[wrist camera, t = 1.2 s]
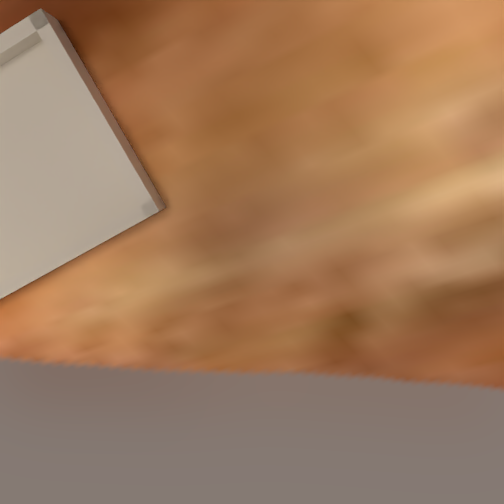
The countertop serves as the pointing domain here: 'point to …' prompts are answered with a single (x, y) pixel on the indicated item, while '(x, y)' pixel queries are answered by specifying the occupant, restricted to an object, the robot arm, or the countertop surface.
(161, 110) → the countertop surface
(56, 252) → the tray
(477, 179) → the countertop surface
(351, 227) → the countertop surface
